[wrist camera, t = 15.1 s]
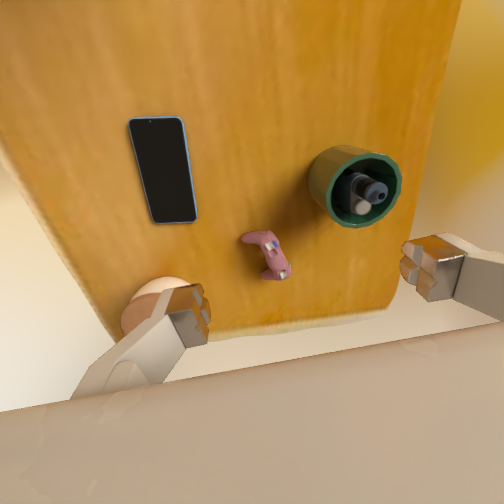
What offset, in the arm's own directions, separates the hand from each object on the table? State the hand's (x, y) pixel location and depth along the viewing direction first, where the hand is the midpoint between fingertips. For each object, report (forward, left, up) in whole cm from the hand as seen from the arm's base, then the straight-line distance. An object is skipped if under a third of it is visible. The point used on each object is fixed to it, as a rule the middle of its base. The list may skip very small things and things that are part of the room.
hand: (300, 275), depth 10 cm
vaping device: (+5, +12, -28) cm, 31 cm away
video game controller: (+15, -1, -29) cm, 33 cm away
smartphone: (-1, -13, -29) cm, 32 cm away
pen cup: (+5, +12, -29) cm, 32 cm away
